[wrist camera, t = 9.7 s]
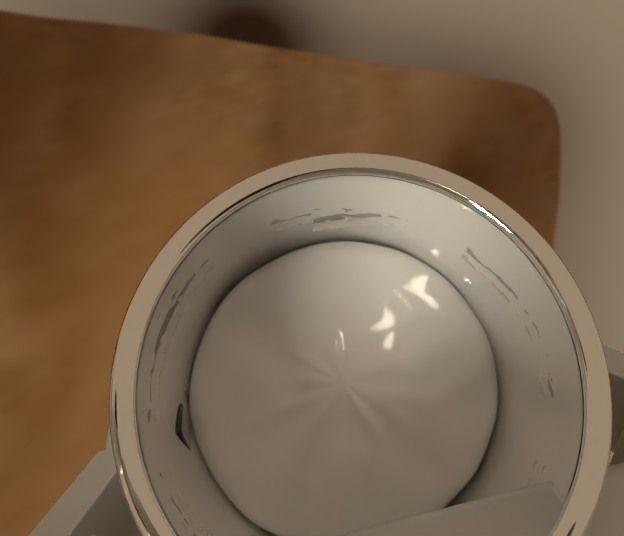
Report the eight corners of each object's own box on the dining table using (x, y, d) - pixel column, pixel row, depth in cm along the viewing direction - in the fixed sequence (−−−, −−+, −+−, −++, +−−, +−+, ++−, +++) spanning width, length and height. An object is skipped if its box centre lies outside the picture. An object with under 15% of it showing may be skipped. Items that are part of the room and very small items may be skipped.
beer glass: (226, 341, 22) (29, 242, 7) (373, 280, 22) (477, 71, 7) (285, 502, 20) (192, 811, 5) (442, 432, 20) (744, 544, 6)
